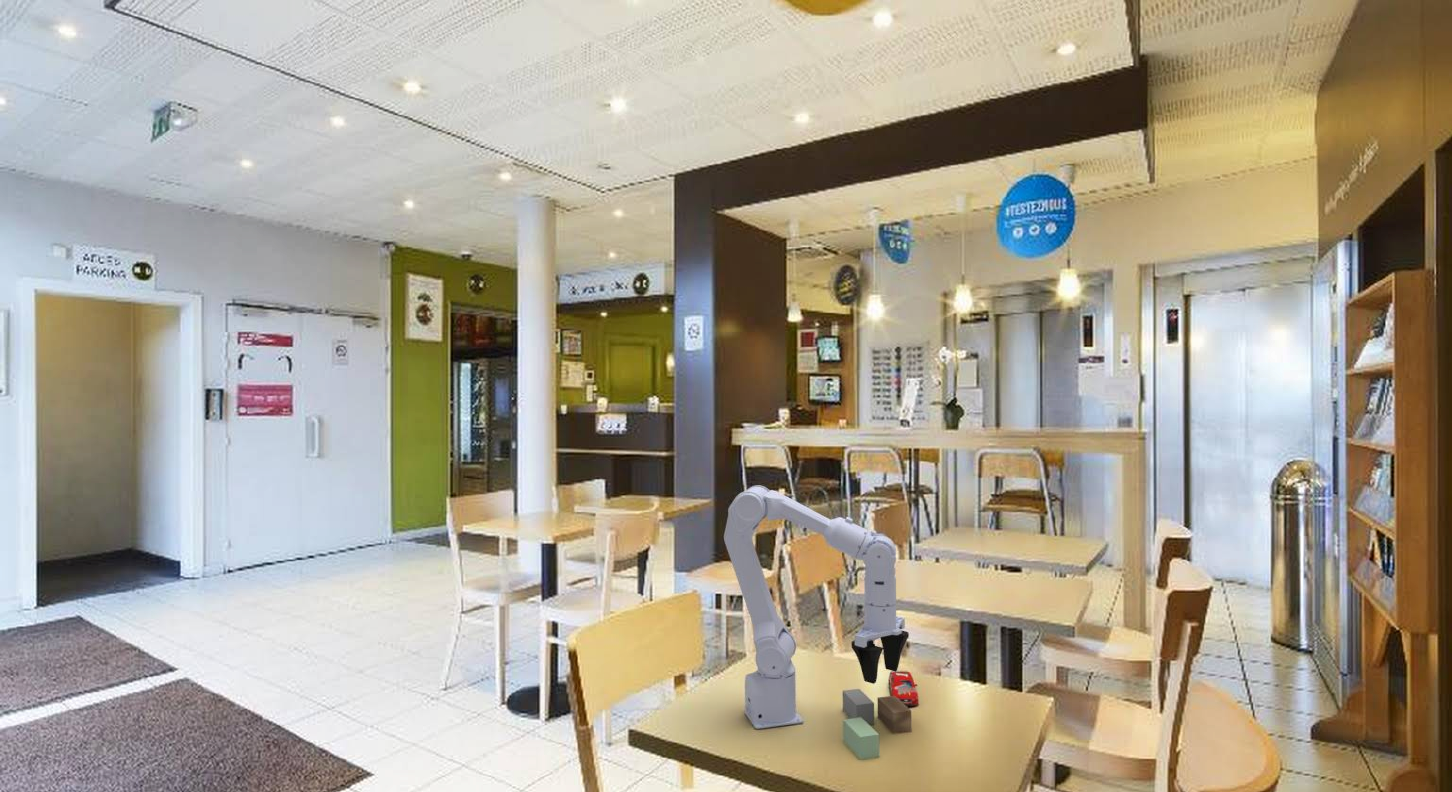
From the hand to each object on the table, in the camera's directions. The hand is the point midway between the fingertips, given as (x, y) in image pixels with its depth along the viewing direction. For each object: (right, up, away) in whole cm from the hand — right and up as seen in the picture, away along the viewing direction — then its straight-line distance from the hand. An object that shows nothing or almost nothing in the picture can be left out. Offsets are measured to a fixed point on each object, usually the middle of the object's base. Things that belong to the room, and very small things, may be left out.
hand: (880, 675), depth 140 cm
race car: (+7, -10, +15) cm, 19 cm away
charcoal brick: (-3, -10, +5) cm, 11 cm away
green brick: (-5, -10, -8) cm, 14 cm away
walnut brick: (+3, -10, +1) cm, 10 cm away
